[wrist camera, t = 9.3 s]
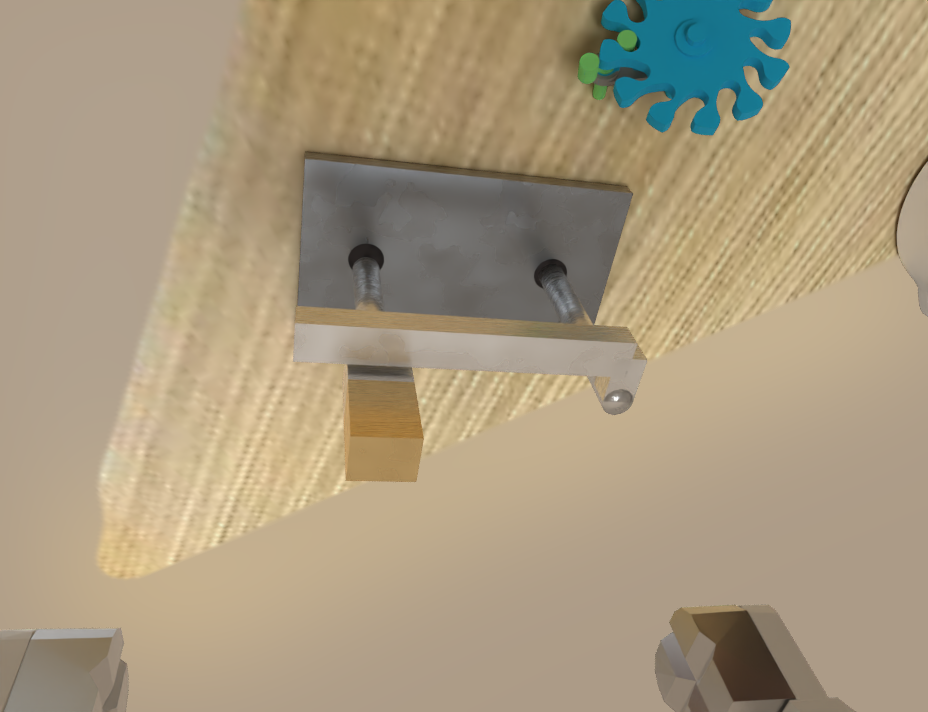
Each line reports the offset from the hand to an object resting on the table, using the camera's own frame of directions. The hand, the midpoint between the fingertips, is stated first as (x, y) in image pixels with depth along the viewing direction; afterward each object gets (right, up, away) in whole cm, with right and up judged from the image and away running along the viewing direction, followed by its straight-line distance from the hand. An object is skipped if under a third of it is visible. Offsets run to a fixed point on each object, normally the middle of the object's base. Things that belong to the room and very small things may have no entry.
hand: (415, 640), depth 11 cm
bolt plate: (0, +11, +38) cm, 39 cm away
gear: (+12, +23, +32) cm, 41 cm away
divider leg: (-5, +10, +35) cm, 37 cm away
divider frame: (-1, +11, +36) cm, 37 cm away
